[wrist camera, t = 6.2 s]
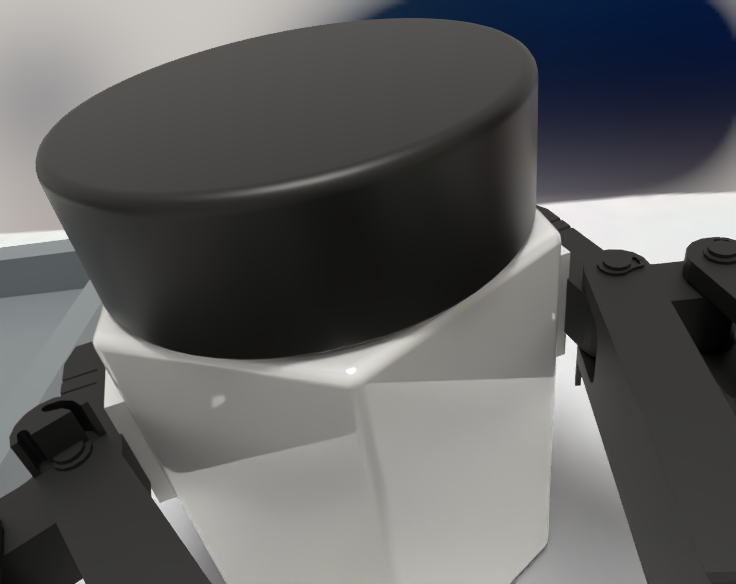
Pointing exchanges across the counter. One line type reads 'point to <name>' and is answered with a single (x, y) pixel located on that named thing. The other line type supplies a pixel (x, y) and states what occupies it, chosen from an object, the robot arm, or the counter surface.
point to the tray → (38, 334)
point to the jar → (329, 295)
